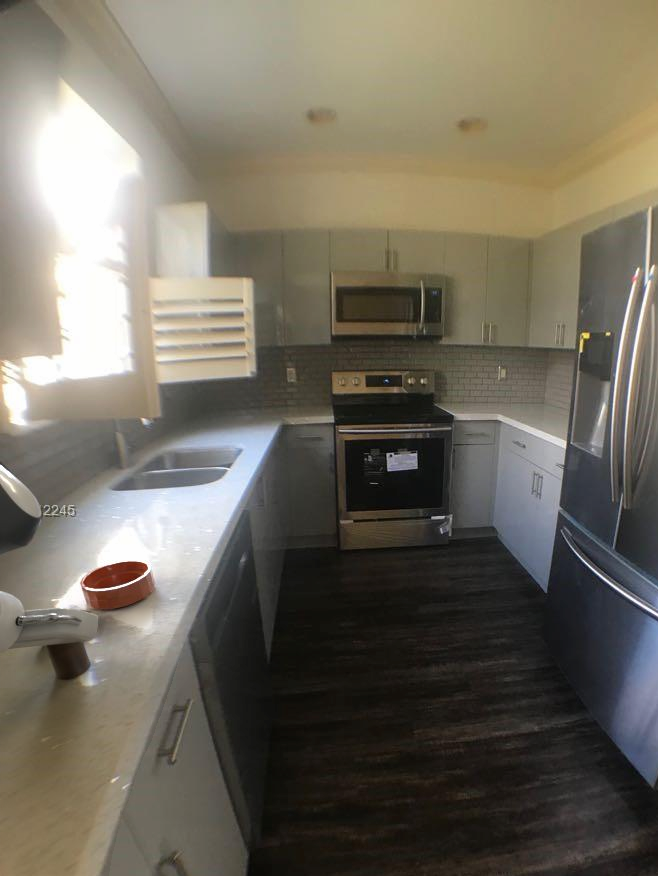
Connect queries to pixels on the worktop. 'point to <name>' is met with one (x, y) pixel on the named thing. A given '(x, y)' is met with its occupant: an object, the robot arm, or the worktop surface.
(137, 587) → the bowl
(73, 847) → the worktop surface
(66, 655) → the pepper mill
